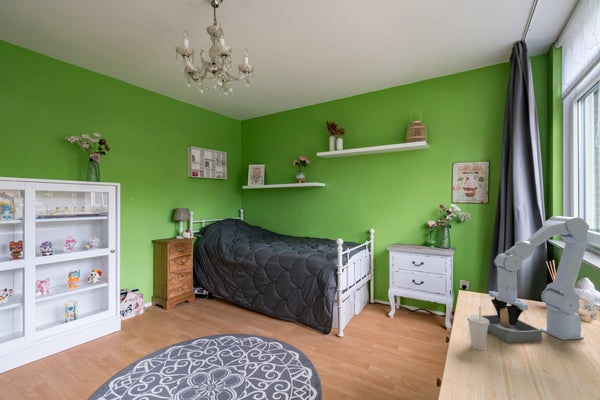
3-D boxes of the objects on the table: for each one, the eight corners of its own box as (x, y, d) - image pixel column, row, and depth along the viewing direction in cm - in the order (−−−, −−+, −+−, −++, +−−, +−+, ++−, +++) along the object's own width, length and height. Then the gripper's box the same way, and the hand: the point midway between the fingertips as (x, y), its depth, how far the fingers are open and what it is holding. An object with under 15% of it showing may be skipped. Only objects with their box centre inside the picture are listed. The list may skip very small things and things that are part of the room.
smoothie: (493, 353, 89) (493, 310, 89) (471, 351, 90) (471, 309, 90) (484, 343, 95) (484, 303, 95) (464, 341, 96) (464, 301, 96)
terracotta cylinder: (508, 323, 105) (508, 307, 105) (517, 328, 101) (517, 312, 101) (497, 323, 105) (497, 308, 105) (506, 328, 100) (506, 312, 100)
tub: (507, 322, 111) (507, 314, 111) (541, 340, 97) (541, 330, 97) (476, 324, 109) (476, 315, 109) (506, 343, 95) (506, 333, 95)
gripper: (482, 280, 109) (482, 314, 109) (515, 293, 95) (515, 331, 95) (497, 280, 110) (497, 313, 110) (532, 292, 96) (532, 330, 96)
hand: (507, 321), depth 103 cm, fingers closed on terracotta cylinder, 4 cm apart
